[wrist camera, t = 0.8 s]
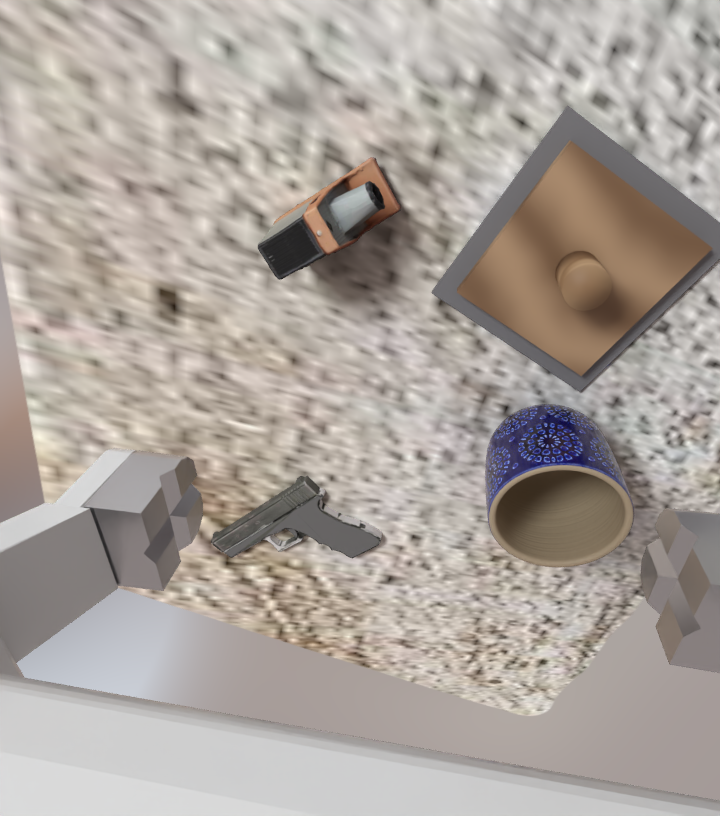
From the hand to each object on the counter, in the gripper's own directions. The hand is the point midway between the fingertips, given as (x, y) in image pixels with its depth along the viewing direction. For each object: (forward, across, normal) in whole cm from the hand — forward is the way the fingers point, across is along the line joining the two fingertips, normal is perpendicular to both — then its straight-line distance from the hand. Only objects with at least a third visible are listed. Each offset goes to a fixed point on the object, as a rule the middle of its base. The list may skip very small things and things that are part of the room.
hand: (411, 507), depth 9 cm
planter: (+37, -11, +22) cm, 44 cm away
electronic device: (+37, +9, +2) cm, 38 cm away
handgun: (+38, +15, +40) cm, 57 cm away
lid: (+36, -10, +6) cm, 38 cm away
